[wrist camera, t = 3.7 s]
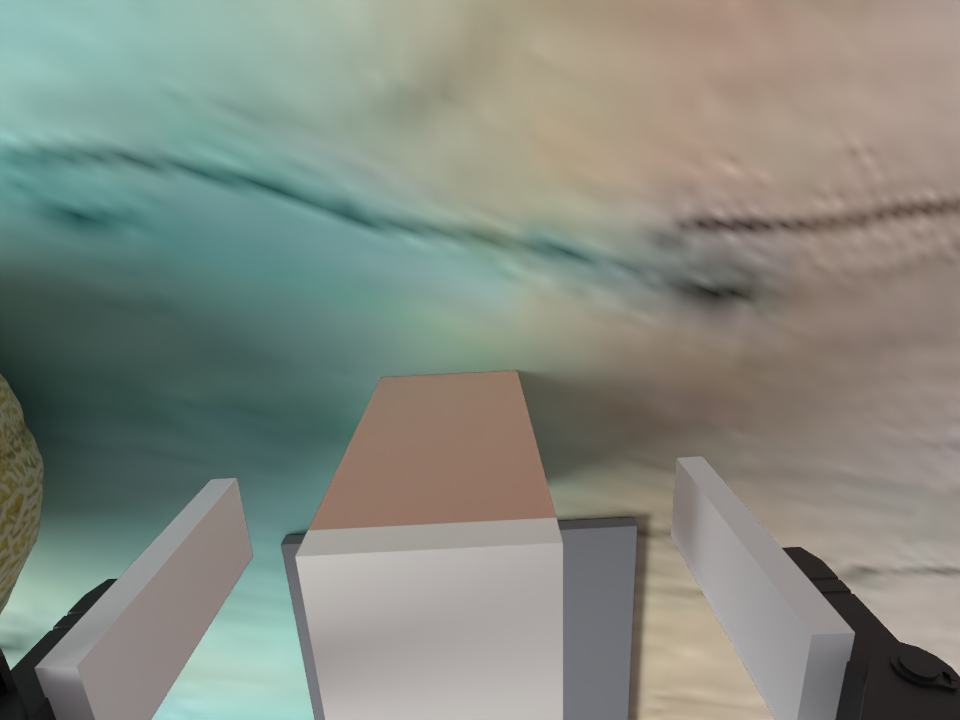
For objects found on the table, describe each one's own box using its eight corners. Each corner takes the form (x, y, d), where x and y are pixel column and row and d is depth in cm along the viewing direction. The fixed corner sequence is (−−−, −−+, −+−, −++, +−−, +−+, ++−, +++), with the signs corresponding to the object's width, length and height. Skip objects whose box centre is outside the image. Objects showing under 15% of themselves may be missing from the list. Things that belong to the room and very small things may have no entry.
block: (381, 377, 19) (295, 556, 10) (517, 370, 19) (562, 543, 10) (394, 496, 21) (331, 751, 11) (520, 489, 21) (563, 739, 11)
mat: (286, 535, 21) (281, 544, 21) (632, 517, 21) (637, 525, 21) (347, 863, 27) (345, 878, 27) (617, 849, 27) (620, 862, 27)
